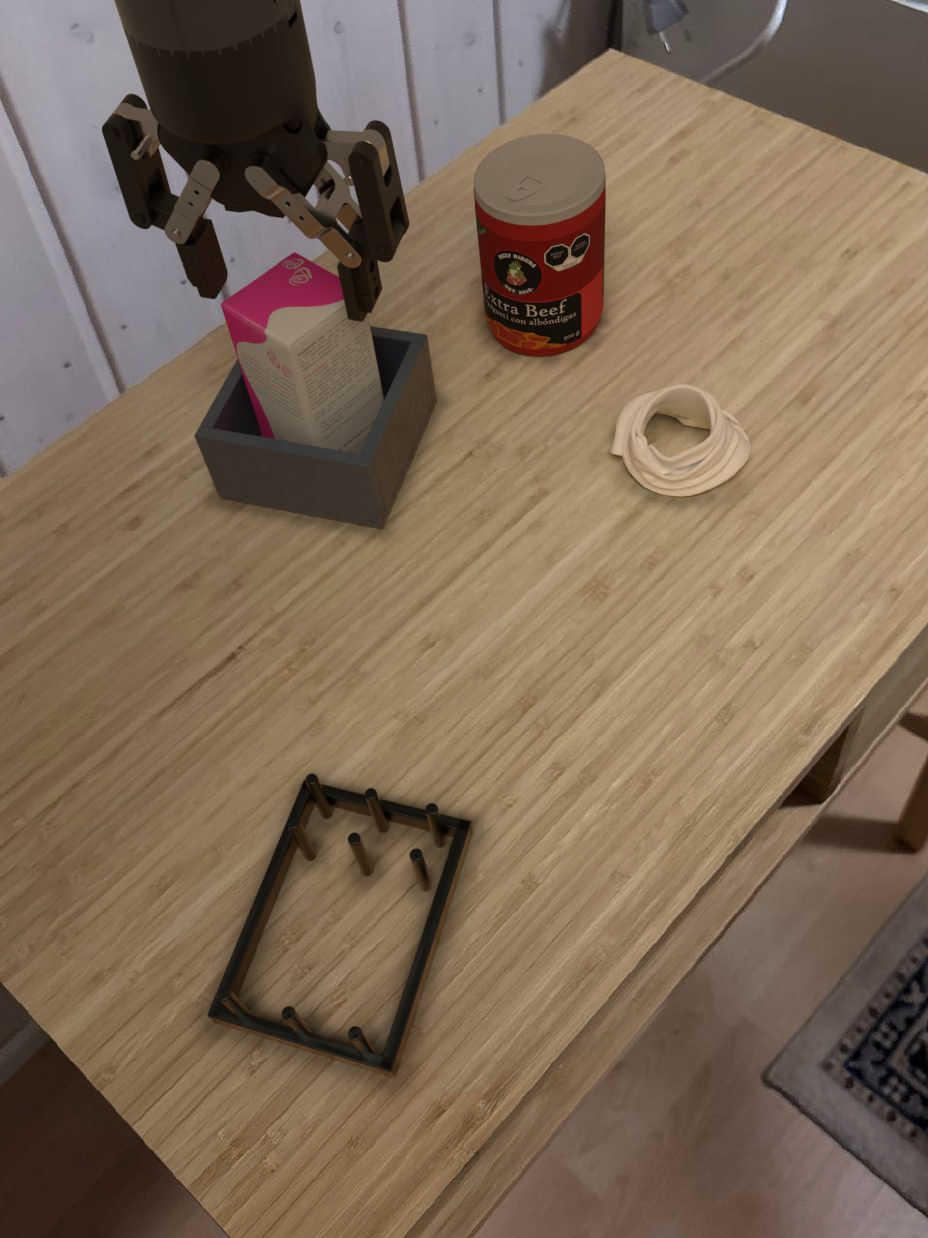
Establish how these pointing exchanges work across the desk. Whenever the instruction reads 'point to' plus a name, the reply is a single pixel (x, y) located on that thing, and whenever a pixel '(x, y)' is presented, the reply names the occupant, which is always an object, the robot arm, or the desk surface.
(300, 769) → the desk surface
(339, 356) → the supplement box
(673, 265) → the desk surface
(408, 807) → the dish rack
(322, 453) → the dark grey storage bin
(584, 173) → the canned food
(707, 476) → the cream coiled cloth
